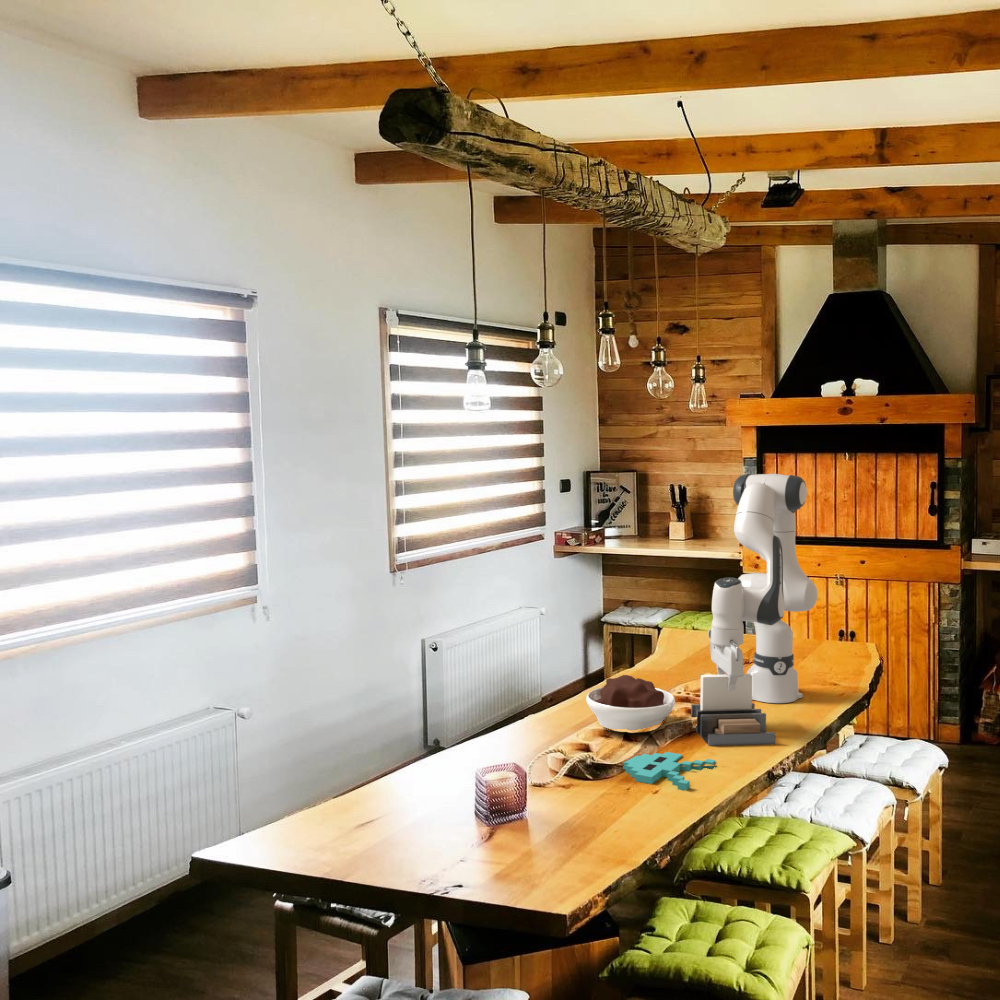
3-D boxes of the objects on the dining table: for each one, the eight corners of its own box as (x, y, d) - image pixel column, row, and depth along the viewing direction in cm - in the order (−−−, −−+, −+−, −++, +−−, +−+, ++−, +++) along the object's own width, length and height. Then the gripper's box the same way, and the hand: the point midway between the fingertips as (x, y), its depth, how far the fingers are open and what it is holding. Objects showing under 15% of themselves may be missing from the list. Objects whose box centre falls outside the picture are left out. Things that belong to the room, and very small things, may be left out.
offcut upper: (718, 728, 300) (718, 719, 300) (754, 727, 301) (754, 718, 301) (723, 734, 295) (723, 725, 295) (760, 733, 296) (760, 724, 296)
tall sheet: (700, 727, 310) (700, 674, 309) (748, 726, 311) (749, 673, 310) (702, 729, 308) (703, 677, 306) (751, 728, 309) (752, 676, 307)
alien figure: (715, 768, 280) (642, 755, 290) (715, 760, 280) (642, 747, 290) (686, 792, 263) (610, 778, 273) (686, 783, 263) (610, 769, 273)
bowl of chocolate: (691, 727, 314) (691, 675, 313) (644, 748, 295) (645, 693, 293) (617, 711, 330) (617, 662, 329) (568, 731, 311) (568, 678, 309)
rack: (690, 729, 312) (691, 704, 312) (753, 727, 314) (753, 702, 313) (708, 750, 293) (709, 723, 293) (774, 748, 295) (775, 722, 294)
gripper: (749, 644, 297) (748, 694, 298) (728, 629, 317) (727, 676, 318) (726, 645, 296) (725, 695, 298) (706, 629, 317) (705, 676, 318)
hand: (726, 685), depth 308 cm, fingers open, 8 cm apart
